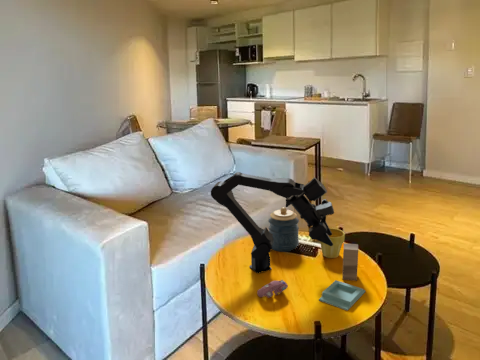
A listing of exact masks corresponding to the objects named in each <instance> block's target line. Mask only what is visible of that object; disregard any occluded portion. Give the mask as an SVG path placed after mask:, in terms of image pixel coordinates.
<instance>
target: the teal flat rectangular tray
mask: <svg viewBox="0 0 480 360" xmlns="http://www.w3.org/2000/svg"><path fill="white" fill-rule="evenodd" d="M365 293H366V290H365V289H364V288H362V287H359V286H355V285H352V284H349V283H345V282H344V281H339V280H334V281H333V282H332V283H331V284H330V285H329V286H328V287H327V288H325V289H324V290H323V291H322V292H321V297H320V298H319V299H318V301H319V302H323V303H324V304H328V305H331V306H333V307H337V308H338V309H341V310H344V311H348V310H349V309H351V308H352V307H353V306H354V304H355V303H356V302H357V301H358V300H359V299H360V298H361V297H362V296H363V295H364V294H365Z"/></svg>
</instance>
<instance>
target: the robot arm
mask: <svg viewBox="0 0 480 360" xmlns="http://www.w3.org/2000/svg"><path fill="white" fill-rule="evenodd" d="M238 186H242V187H246V188H247V187H249V188H254V189H259V190H263V191H268V192H271V193H274V194H275V195H277V196H279V197H282V198H284V199H285V208H288V207H289V206H292V207H293V208H294V210H295V211H296V212H297V213H298V214H299V218H300V219H301V220H304V221H305V222H306V224H307V227H308V236H309V238H310V239H311V240H314V241H315V240H316V241H318V242H319V243H320V242H323V243H325V244H327V245H329V246H332V245H333V243H332V241H331V239H330V238H329V236H331V235H332V233H331V231H330V229H329V228H330V227H329V225H328V223H327V216H331V215H334V214H335V209H334V207H333V204H332V202H331V201H328V200H327V199H326V198H325V199H322V200H321V204H319V205H316V204H315V203H312V202H316V201H317V200H318V199H320V198H321V197H322V196H324V195H326V194H327V193H328V190H327V188H326V187H325V186H324V184H323V183H322V182H321V181H320V180H318V179H317V178H316V177H313V178H311V180H310V181H309V182H307V183H306V184H303V183H300V182H296V181H295V180H294V179H292V178H285V177H283V178H282V177H281V178H269V177H264V176H263V177H262V176H259V175H253V174H247V173H243V172H241V171H237V172H235V173H234V174H233V175H231V176H230V177H228V178H226V179H225V180H224V181H222V180H221V181H217V182H216V183H215V185H213V187H211V190H210V196H211V198H212V199H213V200H214V201H215V202H216V203H218V204H219V205H220V206H223V207H225V209H227V210H228V211H229V213H231V214H232V216H233V217H234V218H235V219H236V221H237V222H238V223H239V224H240V225H241V226H242V227H243V229H244V230H245V231H246V232H247V233H248V235H249V236H250V238H251V240H252V243H253V248H252V250H251V253H250V257H251V258H250V259H251V263H250V265H249V268H250V269H251V270H252V271H254V273H256V274H261V273H264V272H269V271H272V267H271V256H270V253H271V252H272V250H273V249H272V246H273V242H274V239H273V237H272V236H273V234H271V233H270V232H269V229H268V227H264V228H262V227H260V226H259V225H258V224H257V223H256V222H255V221H254V219H253V218H252V216H250V215H249V214H248V212H247V211H246V210H245V209H244V208H243V206H241V204H240V203H239V202H238V201H237V199H236V197H235V195H234V193H233V191H232V190H233V189H235V188H236V187H238ZM310 201H311V202H310ZM328 235H329V236H328Z"/></svg>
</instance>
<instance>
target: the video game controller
mask: <svg viewBox="0 0 480 360" xmlns="http://www.w3.org/2000/svg"><path fill="white" fill-rule="evenodd" d="M288 286H289V285H288V284H287V282H286V281H285V280H283V279H280V280H272V281H270V282H269V283H267V284H265V285H264V286H262V287H261V288H259V289H257V293H256V294H257V296H258V297H259V298H263V297H266V298H271V297H273V296H274V294H275V296H278V295H280V294H281V293H282V292H284V291H285V290H287V289H288Z"/></svg>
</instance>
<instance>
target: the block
mask: <svg viewBox="0 0 480 360" xmlns="http://www.w3.org/2000/svg"><path fill="white" fill-rule="evenodd" d="M342 253H343V255H342V280H344V281H352V282H353V281H354V282H355V281H356V282H357V280H358V279H357V278H358V266H359V244H358V243H345V242H343V252H342Z"/></svg>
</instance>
